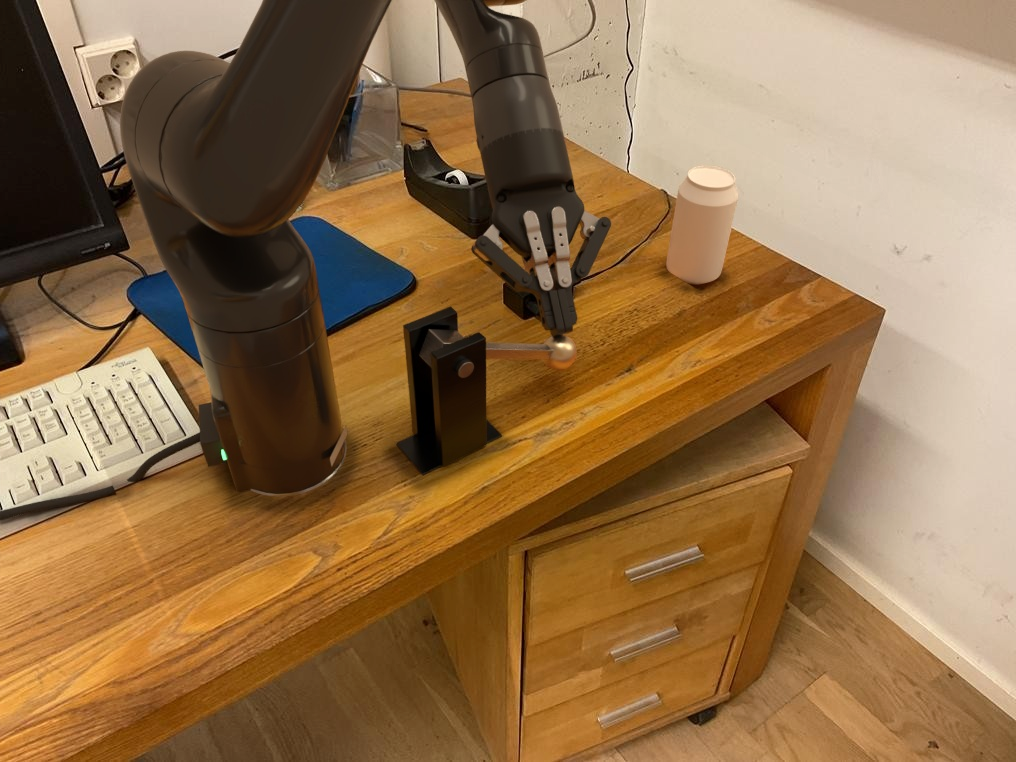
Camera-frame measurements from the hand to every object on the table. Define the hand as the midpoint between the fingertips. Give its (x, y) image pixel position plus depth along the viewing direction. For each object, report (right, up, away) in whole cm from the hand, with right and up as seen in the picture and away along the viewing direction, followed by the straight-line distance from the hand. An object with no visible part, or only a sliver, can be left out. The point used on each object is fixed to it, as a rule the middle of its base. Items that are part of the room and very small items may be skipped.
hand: (562, 333), depth 71 cm
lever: (-5, -3, -2) cm, 7 cm away
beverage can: (+16, +8, +21) cm, 28 cm away
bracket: (-10, -10, 0) cm, 14 cm away
